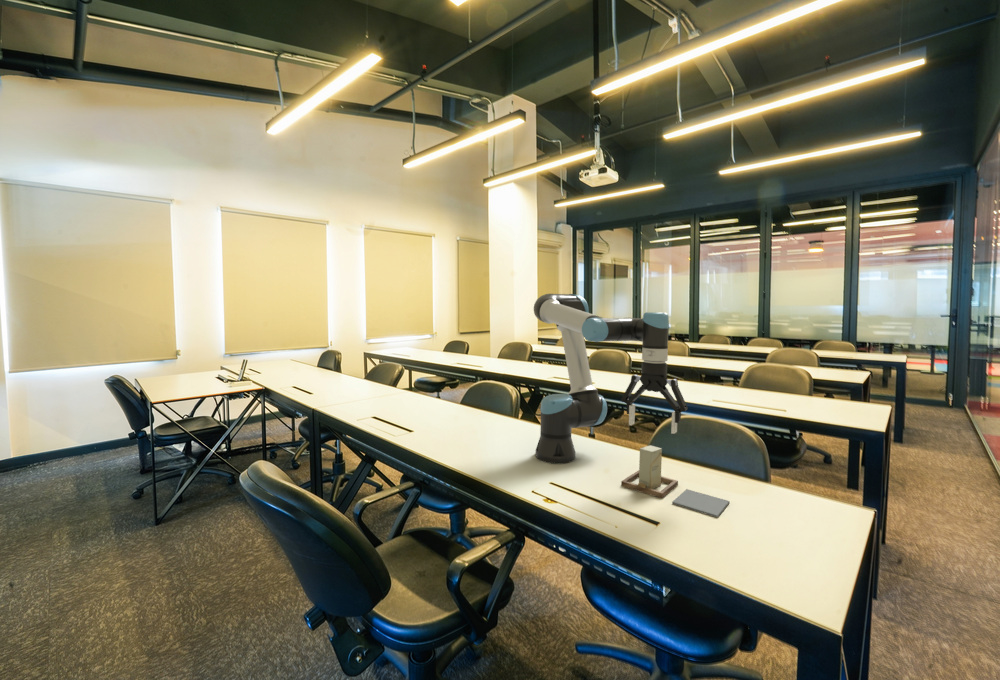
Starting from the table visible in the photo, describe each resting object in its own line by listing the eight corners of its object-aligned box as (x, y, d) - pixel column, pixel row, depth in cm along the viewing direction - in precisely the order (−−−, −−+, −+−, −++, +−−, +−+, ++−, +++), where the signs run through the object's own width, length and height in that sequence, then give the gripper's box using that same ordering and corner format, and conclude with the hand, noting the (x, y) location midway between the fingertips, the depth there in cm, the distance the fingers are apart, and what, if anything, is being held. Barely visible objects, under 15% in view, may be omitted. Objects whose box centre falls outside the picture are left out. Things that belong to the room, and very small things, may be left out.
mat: (672, 503, 121) (672, 501, 121) (686, 490, 129) (686, 489, 129) (717, 517, 113) (717, 515, 112) (729, 503, 121) (729, 501, 121)
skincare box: (650, 490, 130) (651, 452, 129) (637, 485, 133) (639, 448, 132) (661, 485, 133) (662, 448, 133) (648, 481, 137) (650, 444, 136)
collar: (621, 485, 133) (621, 478, 133) (638, 474, 142) (639, 467, 142) (662, 498, 124) (662, 490, 124) (677, 485, 134) (678, 478, 134)
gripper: (612, 359, 136) (610, 423, 138) (692, 366, 120) (689, 439, 121) (622, 357, 142) (620, 419, 143) (700, 364, 125) (697, 433, 127)
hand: (652, 428), depth 132 cm, fingers open, 13 cm apart
